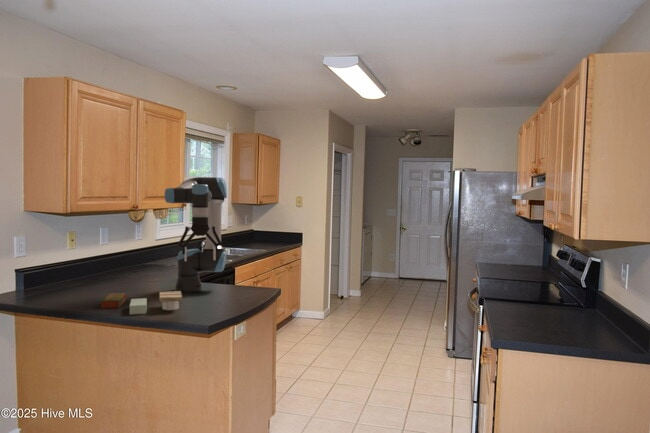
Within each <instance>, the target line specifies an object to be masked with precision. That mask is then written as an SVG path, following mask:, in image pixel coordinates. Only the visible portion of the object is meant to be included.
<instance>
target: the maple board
mask: <svg viewBox="0 0 650 433" xmlns="http://www.w3.org/2000/svg"><path fill="white" fill-rule="evenodd" d="M171 301H179V302H182V301H183V294H182V292H181V291H175V290H174V291H171V290H170V291H169V290H167V291H160V292H159V303H162V302H171Z"/></svg>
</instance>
